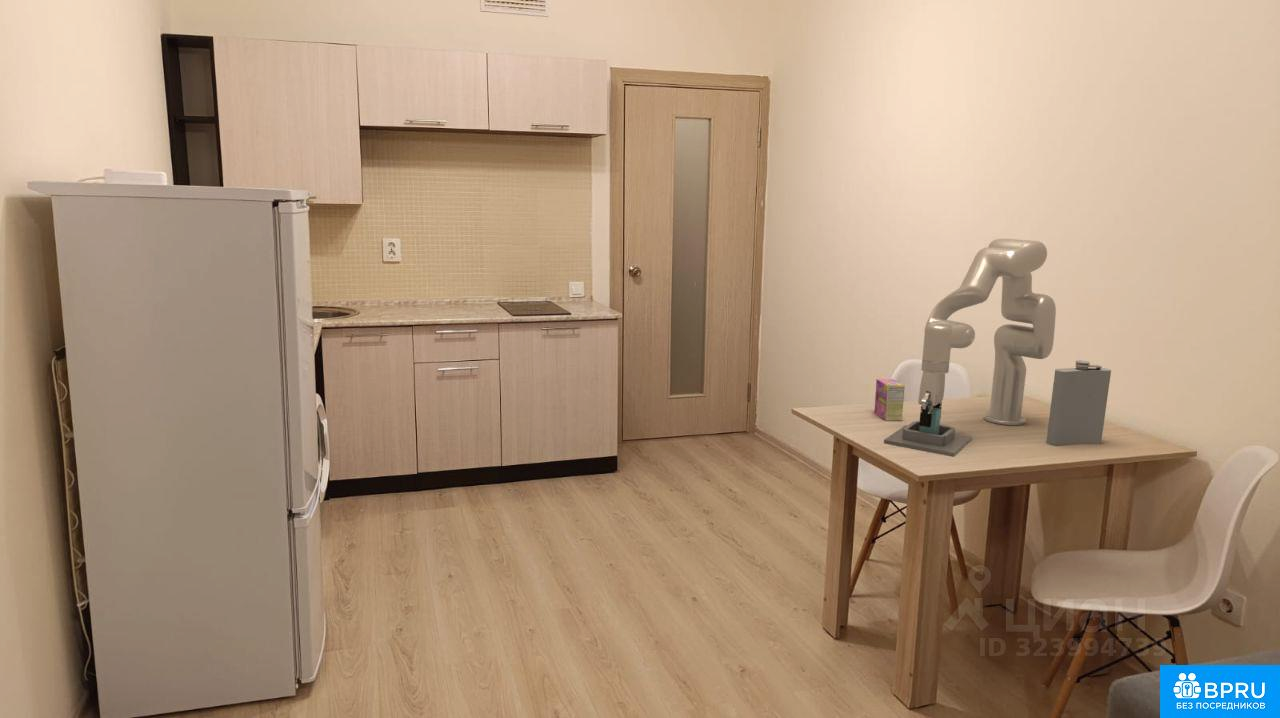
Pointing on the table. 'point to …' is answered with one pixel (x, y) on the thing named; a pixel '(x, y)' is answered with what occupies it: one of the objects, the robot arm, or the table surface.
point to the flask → (1078, 405)
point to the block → (933, 422)
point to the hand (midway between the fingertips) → (929, 422)
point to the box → (889, 399)
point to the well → (929, 439)
